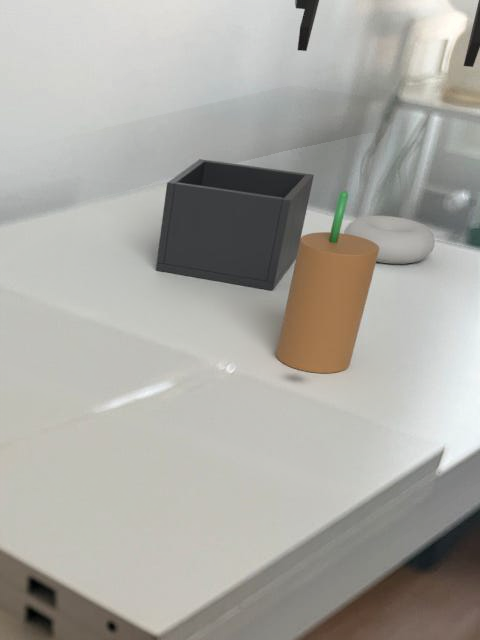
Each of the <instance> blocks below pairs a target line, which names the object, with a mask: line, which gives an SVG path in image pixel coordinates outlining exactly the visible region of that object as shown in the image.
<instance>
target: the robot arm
mask: <svg viewBox="0 0 480 640" xmlns="http://www.w3.org/2000/svg"><path fill="white" fill-rule="evenodd" d="M319 3H320V0H294V6H295V9H300V10H304V11H303V15H302V18H301V22H300V26H299V34H298V43H297V51H302V52H307V50H308V46H309V42H310V38H311V34H312V31H313V26H314V23H315V19H316V15H317V11H318V8H319ZM479 51H480V0H478V3H477V7H476V11H475V15H474V20H473V23H472V29H471V32H470V36H469V40H468V45H467V49H466V54H465V58H464V62H463V67H467V68H469V67H471V68H473V67H474V65H475V63H476V59H477V57H478V54H479Z"/></svg>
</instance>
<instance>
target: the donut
mask: <svg viewBox="0 0 480 640" xmlns="http://www.w3.org/2000/svg"><path fill="white" fill-rule="evenodd" d="M343 234H349V235H354V236H358V237H362V238H365V239H368V240H370V241H372V242H374V243H376V244H377V245H378V246H379V253H378V257H377V260H376V263H382V264H388V265H389V264H391V265H408V264H413V263H417V262H420V261H422V260H425V259H426V258H428V256H429V255H430V254H431V253H432V252H433V250H434V248H435V244H436V243H435V242H436V240H435V236H434V232H433V231H432V230H431V229H430V228H429V227H428V226H426V225H425V224H423V223H421V222H419V221H416V220H412V219H408V218H406V217H398V216H390V215H365V216H361V217H357V218H356V219H354V220H352V221H350V222H349V223H348V225H347V226H346V227H345V228H344V232H343Z"/></svg>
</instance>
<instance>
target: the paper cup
mask: <svg viewBox="0 0 480 640" xmlns="http://www.w3.org/2000/svg"><path fill="white" fill-rule="evenodd" d="M348 193H349V192H347V191H345V190H342V191H341V192H339V195H338V197H337V204H336V207H335V212H334V216H333V220H332V224H331V228H330V229H331V230H330V232H327V231H324V232H323V231H321V232H320V231H319V232H311V233H307V234H304V235H301V239H300V243H299V248H298V252H297V257H296V259H295V261H294V266H293V267H294V268H293V273H292V277H291V282H290V287H289V292H288V296H287V301H286V306H285V310H284V315H283V320H282V324H281V329H280V333H279V338H278V344H277V348H276V352H275V356H276V358H277V359H278V361H280V362H281V363H282V364H283V365H286V366H288V367H290V368H293V369H294V370H295V369H296V370H300V371H303V372H308V373H314V374H315V373H316V374H334V373H340V372H343V371H346V370H347V369H348V368H349V367H350V365H351V361H352V359H353V354H354V350H355V347H356V342H357V338H358V334H359V330H360V326H361V322H362V318H363V314H364V310H365V307H366V302H367V299H368V296H369V291H370V287H371V283H372V279H373V276H374V272H375V268H376V264H377V262H376V260H377V257H378V253H379V246H378V245H377V244H376V243H374V242H372V241H370V240H368V239H365V238H362V237H358V236H354V235H349V234H344V233H341V228H342V224H343V219H344V215H345V212H346V206H347V202H348V198H349V194H348Z"/></svg>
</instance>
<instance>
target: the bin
mask: <svg viewBox="0 0 480 640" xmlns="http://www.w3.org/2000/svg"><path fill="white" fill-rule="evenodd" d="M314 177H315V175H314V174H311V173H305V172H297V171H289V170H283V169H275V168H267V167H260V166H254V165H246V164H240V163H239V164H238V163H231V162H224V161H216V160H209V159H201V158H199V159H198V160H196V161H195V162H194V163H192V164H191V165H190V166H188V167H187V168H185V169H184V170H182V171H181V172H180V173H179V174H178V175H176V176H174V177H173V178H172V179H170V180H168V181H167V182H166V189H165V196H164V204H163V211H162V218H161V219H162V220H161V226H160V234H159V241H158V242H159V243H158V250H157V258H156V265H155V271H159V272H163V273H170V274H175V275H181V276H187V277H193V278H199V279H203V280H204V279H205V280H211V281H216V282H222V283H226V284H233V285H238V286H243V287H244V286H245V287H250V288H256V289H262V290H267V291H274V290H275V288H276V287H277V285H278V284H279V282H280V281H281V280H282V279H283V277H284V276H285V275H286V274H287V272H288V270H289V269H290V268H291V266H292V265H293V264H294V263H295V262H296V257H297V252H298V248H299V243H300V239H301V237H302V233H303V230H304V229H303V228H304V224H305V220H306V216H307V210H308V205H309V200H310V195H311V192H312V186H313V181H314Z"/></svg>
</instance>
